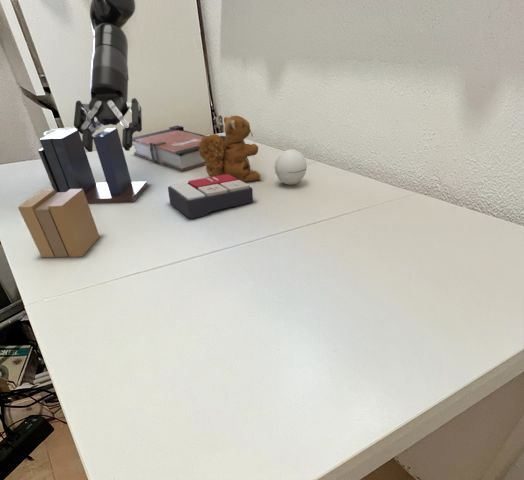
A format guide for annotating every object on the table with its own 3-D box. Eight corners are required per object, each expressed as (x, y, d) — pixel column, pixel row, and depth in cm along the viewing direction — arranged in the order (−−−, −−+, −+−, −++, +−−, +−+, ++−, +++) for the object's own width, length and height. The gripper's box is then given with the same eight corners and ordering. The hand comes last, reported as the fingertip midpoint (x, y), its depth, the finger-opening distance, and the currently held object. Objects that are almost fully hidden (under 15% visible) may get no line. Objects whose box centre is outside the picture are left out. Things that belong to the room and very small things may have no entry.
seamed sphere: (279, 191, 87) (278, 156, 82) (272, 180, 92) (271, 147, 87) (321, 185, 88) (323, 151, 83) (311, 175, 93) (312, 142, 89)
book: (132, 155, 116) (127, 136, 112) (180, 142, 124) (177, 125, 121) (180, 172, 101) (176, 151, 97) (231, 156, 109) (229, 137, 106)
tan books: (41, 257, 68) (17, 207, 62) (62, 237, 74) (42, 189, 68) (82, 256, 67) (62, 205, 61) (99, 236, 73) (82, 188, 67)
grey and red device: (253, 184, 80) (186, 197, 74) (253, 205, 83) (189, 219, 77) (228, 171, 87) (166, 182, 81) (230, 191, 90) (169, 203, 84)
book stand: (53, 204, 88) (27, 141, 79) (74, 187, 96) (53, 129, 87) (133, 202, 86) (116, 137, 77) (148, 185, 94) (133, 125, 86)
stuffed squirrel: (263, 180, 93) (260, 118, 84) (206, 188, 91) (197, 125, 82) (254, 168, 100) (250, 110, 91) (200, 175, 98) (192, 116, 89)
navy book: (110, 195, 87) (92, 137, 79) (122, 183, 93) (106, 128, 85) (120, 195, 87) (103, 136, 79) (132, 183, 93) (117, 127, 85)
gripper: (68, 65, 81) (65, 140, 80) (134, 62, 79) (131, 137, 78) (88, 91, 88) (85, 159, 87) (147, 89, 87) (145, 157, 86)
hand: (107, 149), depth 83 cm, fingers open, 8 cm apart
